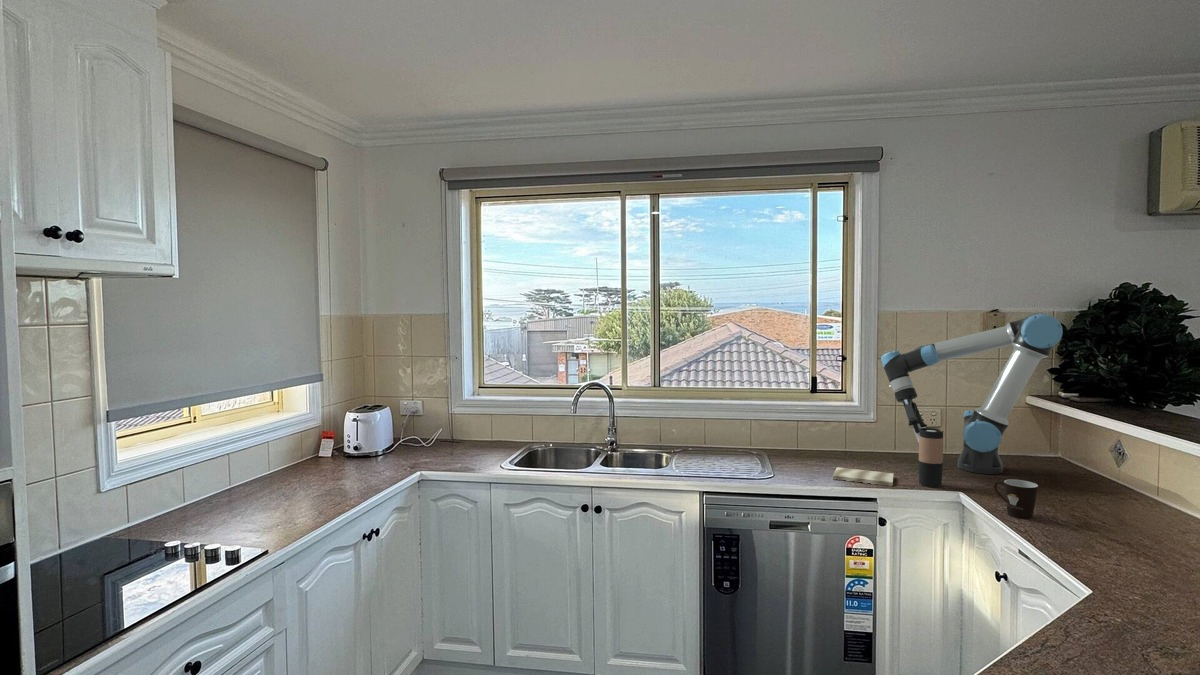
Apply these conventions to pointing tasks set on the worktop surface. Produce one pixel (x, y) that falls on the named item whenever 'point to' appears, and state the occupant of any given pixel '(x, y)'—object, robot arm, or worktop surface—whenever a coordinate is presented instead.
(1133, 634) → the worktop surface
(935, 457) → the travel mug
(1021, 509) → the coffee mug
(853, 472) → the dock pad
